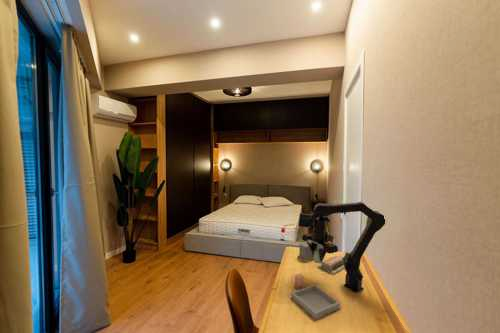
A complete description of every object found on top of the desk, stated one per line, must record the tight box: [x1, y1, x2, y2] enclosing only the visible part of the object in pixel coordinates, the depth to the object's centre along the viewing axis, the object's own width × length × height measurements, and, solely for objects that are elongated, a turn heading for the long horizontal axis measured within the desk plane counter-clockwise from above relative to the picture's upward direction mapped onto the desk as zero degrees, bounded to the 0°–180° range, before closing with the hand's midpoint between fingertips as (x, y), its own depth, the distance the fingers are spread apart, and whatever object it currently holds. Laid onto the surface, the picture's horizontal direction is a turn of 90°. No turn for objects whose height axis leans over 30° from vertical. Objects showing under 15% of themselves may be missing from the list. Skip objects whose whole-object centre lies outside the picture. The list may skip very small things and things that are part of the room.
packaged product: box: [317, 255, 345, 276], centre depth 122 cm, size 18×5×10 cm
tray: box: [290, 284, 341, 321], centre depth 89 cm, size 14×14×3 cm
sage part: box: [313, 250, 322, 264], centre depth 106 cm, size 4×4×5 cm
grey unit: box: [296, 241, 322, 263], centre depth 131 cm, size 6×15×9 cm, turn 119°
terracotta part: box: [294, 273, 305, 290], centre depth 101 cm, size 4×4×5 cm
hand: (317, 259), depth 106 cm, fingers closed on sage part, 4 cm apart
